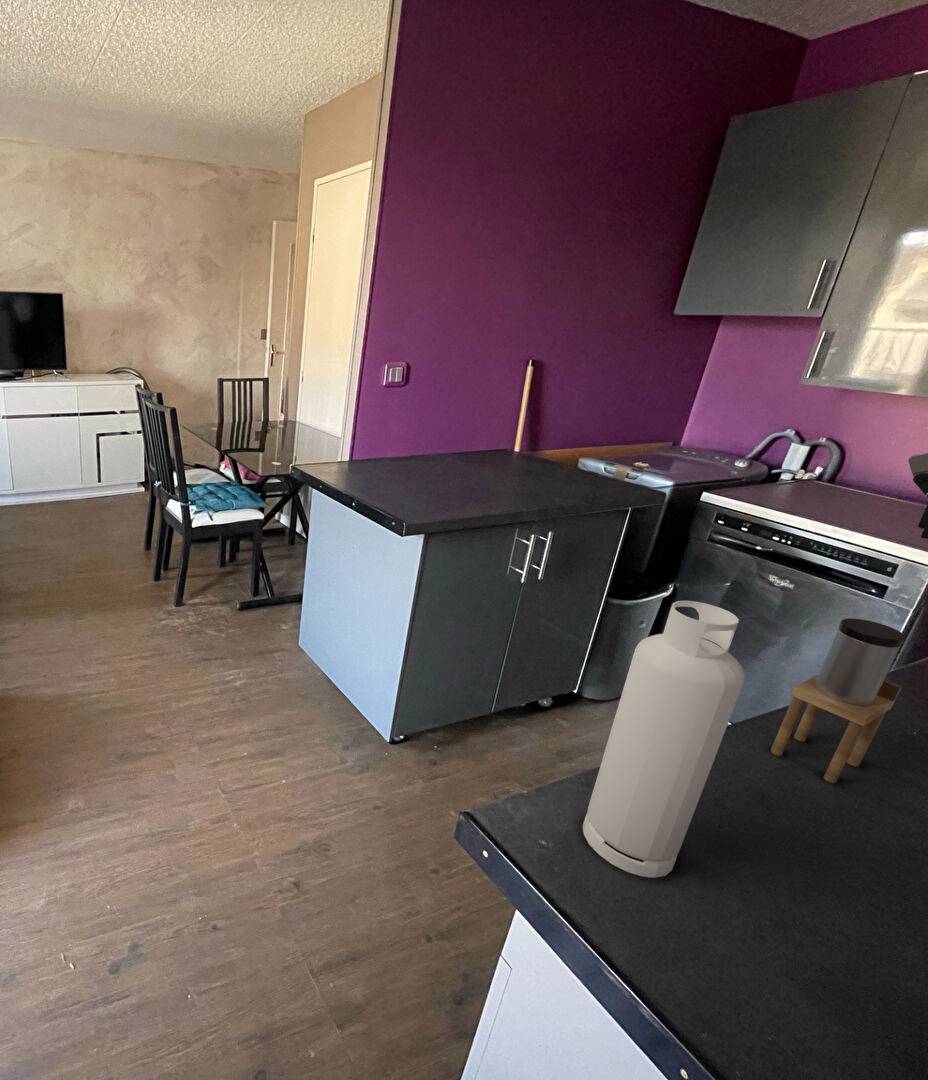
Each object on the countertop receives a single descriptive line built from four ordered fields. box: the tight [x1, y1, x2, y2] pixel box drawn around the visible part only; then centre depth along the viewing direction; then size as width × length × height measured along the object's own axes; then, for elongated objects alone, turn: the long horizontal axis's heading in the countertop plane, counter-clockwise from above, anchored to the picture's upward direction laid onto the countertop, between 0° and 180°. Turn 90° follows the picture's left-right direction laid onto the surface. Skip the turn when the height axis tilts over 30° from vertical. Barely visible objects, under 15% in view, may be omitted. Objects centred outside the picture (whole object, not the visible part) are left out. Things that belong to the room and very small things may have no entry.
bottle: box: [582, 600, 746, 878], centre depth 57 cm, size 8×8×28 cm
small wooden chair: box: [770, 673, 903, 784], centre depth 72 cm, size 8×7×12 cm
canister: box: [815, 617, 906, 706], centre depth 69 cm, size 5×5×9 cm
